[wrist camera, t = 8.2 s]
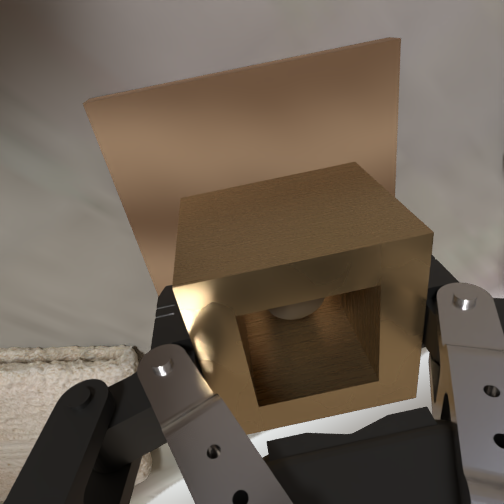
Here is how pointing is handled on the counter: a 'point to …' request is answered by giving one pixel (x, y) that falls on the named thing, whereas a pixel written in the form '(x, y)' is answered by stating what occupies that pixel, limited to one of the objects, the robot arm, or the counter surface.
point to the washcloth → (49, 395)
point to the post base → (246, 136)
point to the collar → (303, 294)
